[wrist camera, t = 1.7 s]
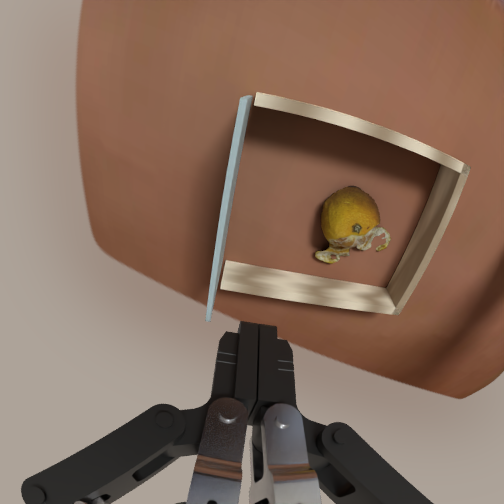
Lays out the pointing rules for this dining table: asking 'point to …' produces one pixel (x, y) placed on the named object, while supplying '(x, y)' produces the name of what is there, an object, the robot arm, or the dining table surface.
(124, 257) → the dining table surface
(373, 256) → the dining table surface
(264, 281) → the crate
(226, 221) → the panel
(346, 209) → the fruit
